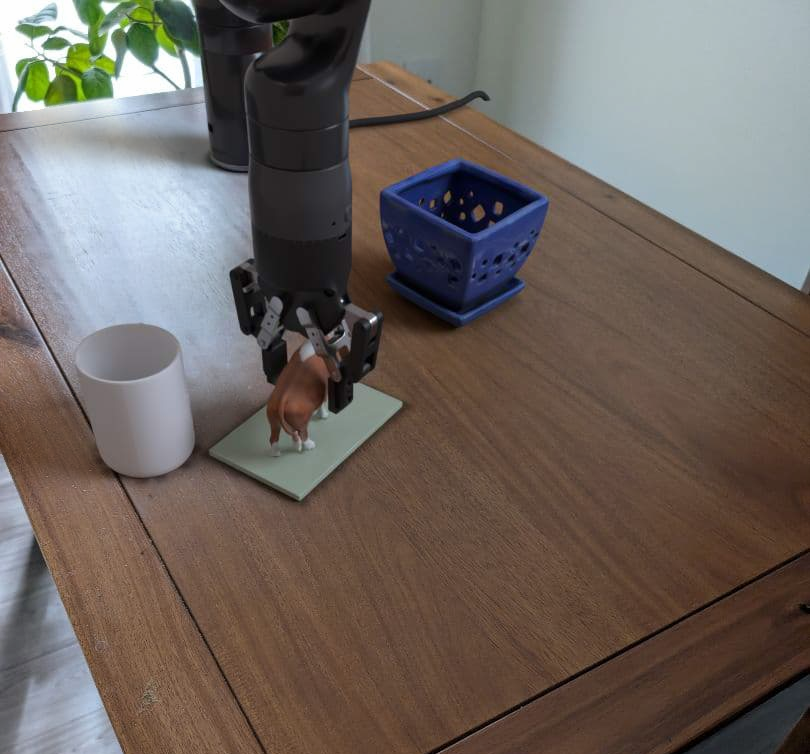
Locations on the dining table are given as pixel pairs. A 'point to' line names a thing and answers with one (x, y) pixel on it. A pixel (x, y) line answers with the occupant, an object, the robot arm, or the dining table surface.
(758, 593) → the dining table surface
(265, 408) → the tile
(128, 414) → the cup
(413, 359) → the dining table surface
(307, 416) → the bull figurine
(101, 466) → the dining table surface
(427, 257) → the flower pot
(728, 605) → the dining table surface
